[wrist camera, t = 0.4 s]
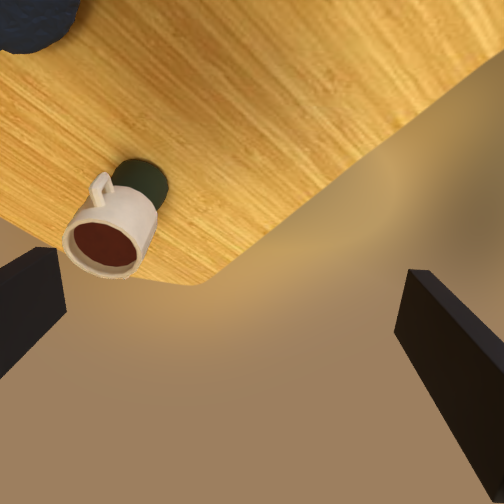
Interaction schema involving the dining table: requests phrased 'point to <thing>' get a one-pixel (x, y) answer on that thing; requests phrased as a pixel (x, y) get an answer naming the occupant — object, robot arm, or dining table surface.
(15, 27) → the decorative stone
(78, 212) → the character mug
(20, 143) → the dining table surface
